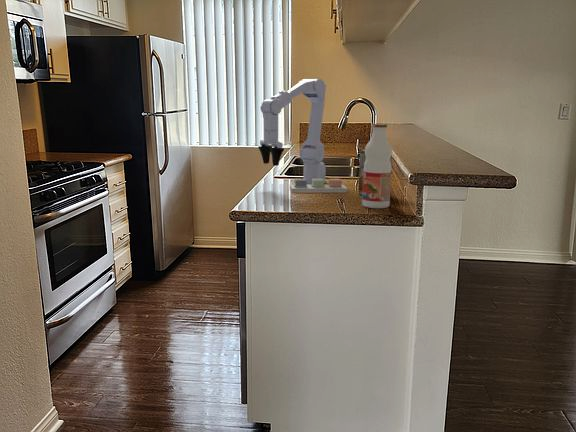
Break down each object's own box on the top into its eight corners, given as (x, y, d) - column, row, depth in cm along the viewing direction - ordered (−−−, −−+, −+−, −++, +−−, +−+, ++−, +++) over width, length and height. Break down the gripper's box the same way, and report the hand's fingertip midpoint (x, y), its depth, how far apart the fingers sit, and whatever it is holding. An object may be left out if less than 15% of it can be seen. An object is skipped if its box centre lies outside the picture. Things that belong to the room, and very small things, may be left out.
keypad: (342, 188, 213) (342, 184, 213) (347, 192, 204) (347, 188, 203) (289, 188, 212) (289, 184, 211) (291, 192, 202) (291, 188, 202)
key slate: (305, 184, 209) (305, 178, 208) (306, 186, 205) (306, 180, 204) (294, 184, 209) (294, 178, 208) (295, 186, 204) (295, 180, 204)
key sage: (322, 184, 210) (322, 178, 209) (324, 186, 205) (324, 180, 205) (311, 184, 209) (312, 178, 209) (313, 186, 205) (313, 180, 204)
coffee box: (385, 194, 200) (387, 153, 197) (380, 197, 195) (382, 154, 191) (363, 192, 205) (364, 151, 201) (357, 194, 199) (359, 153, 195)
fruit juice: (392, 208, 174) (397, 124, 168) (365, 209, 173) (369, 124, 167) (385, 203, 183) (389, 123, 177) (359, 203, 182) (362, 123, 176)
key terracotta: (339, 184, 210) (339, 178, 210) (341, 186, 206) (341, 180, 205) (328, 184, 210) (329, 178, 209) (330, 186, 206) (330, 180, 205)
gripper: (253, 129, 209) (253, 163, 212) (271, 131, 197) (271, 167, 200) (268, 129, 213) (268, 162, 216) (287, 131, 201) (286, 166, 204)
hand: (270, 164), depth 208 cm, fingers open, 7 cm apart
